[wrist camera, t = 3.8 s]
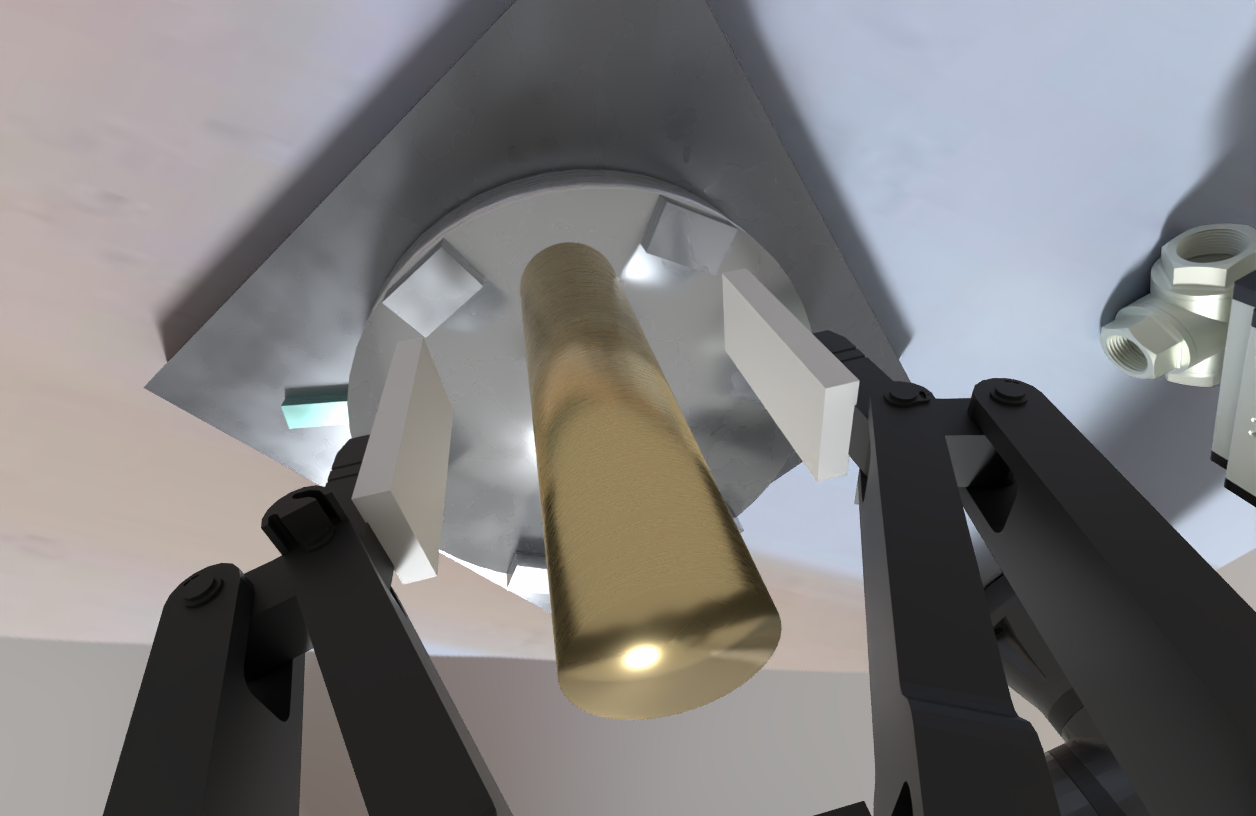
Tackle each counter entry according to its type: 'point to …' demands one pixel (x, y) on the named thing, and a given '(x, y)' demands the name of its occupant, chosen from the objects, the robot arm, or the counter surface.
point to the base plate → (487, 158)
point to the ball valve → (1201, 336)
